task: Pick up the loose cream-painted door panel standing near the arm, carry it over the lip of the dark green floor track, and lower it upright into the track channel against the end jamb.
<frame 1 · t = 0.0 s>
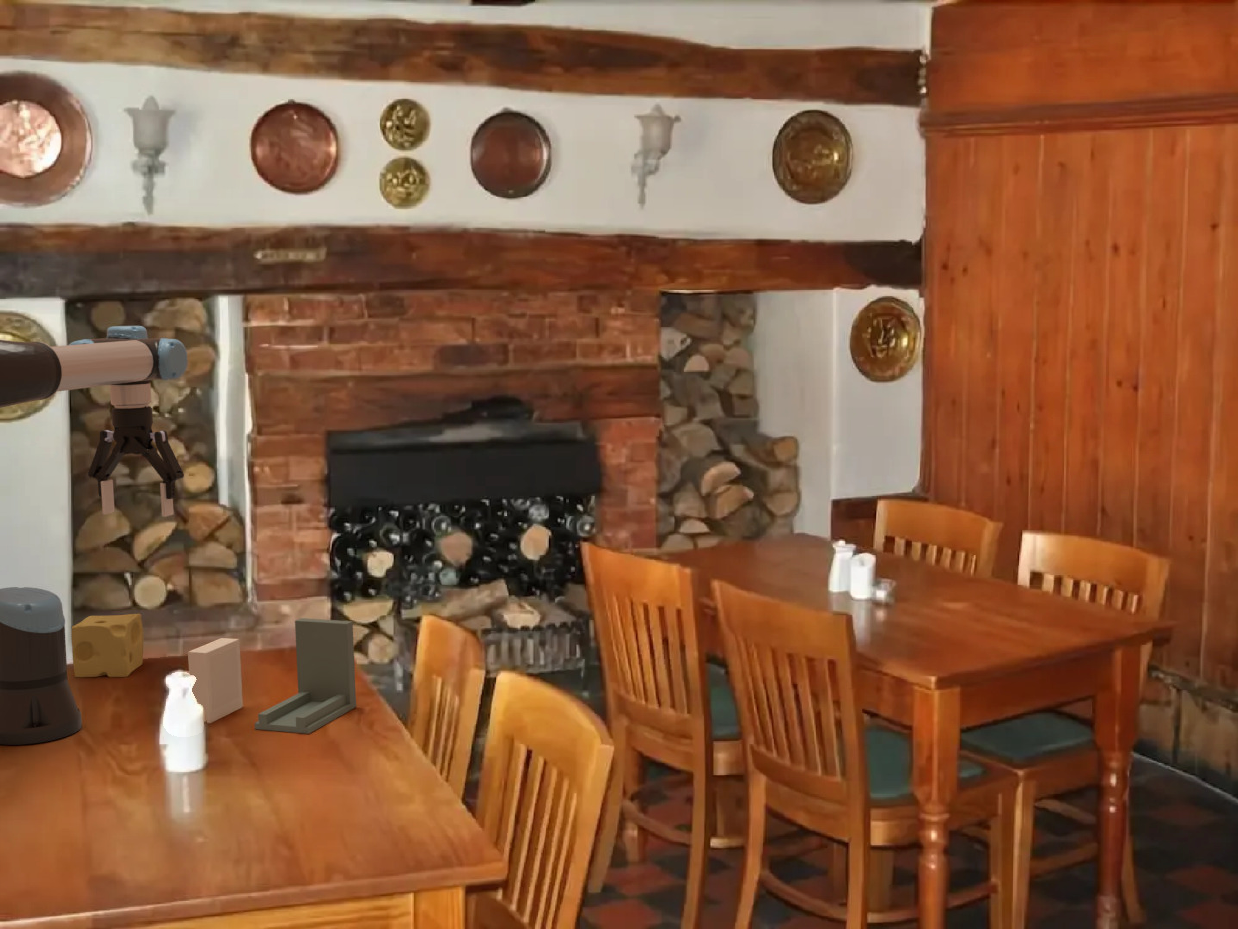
hand: (138, 514, 301), 28 cm above the table, fingers open, 13 cm apart
cheese: (108, 672, 293), on the table
door: (217, 714, 263), on the table
track: (306, 717, 259), on the table
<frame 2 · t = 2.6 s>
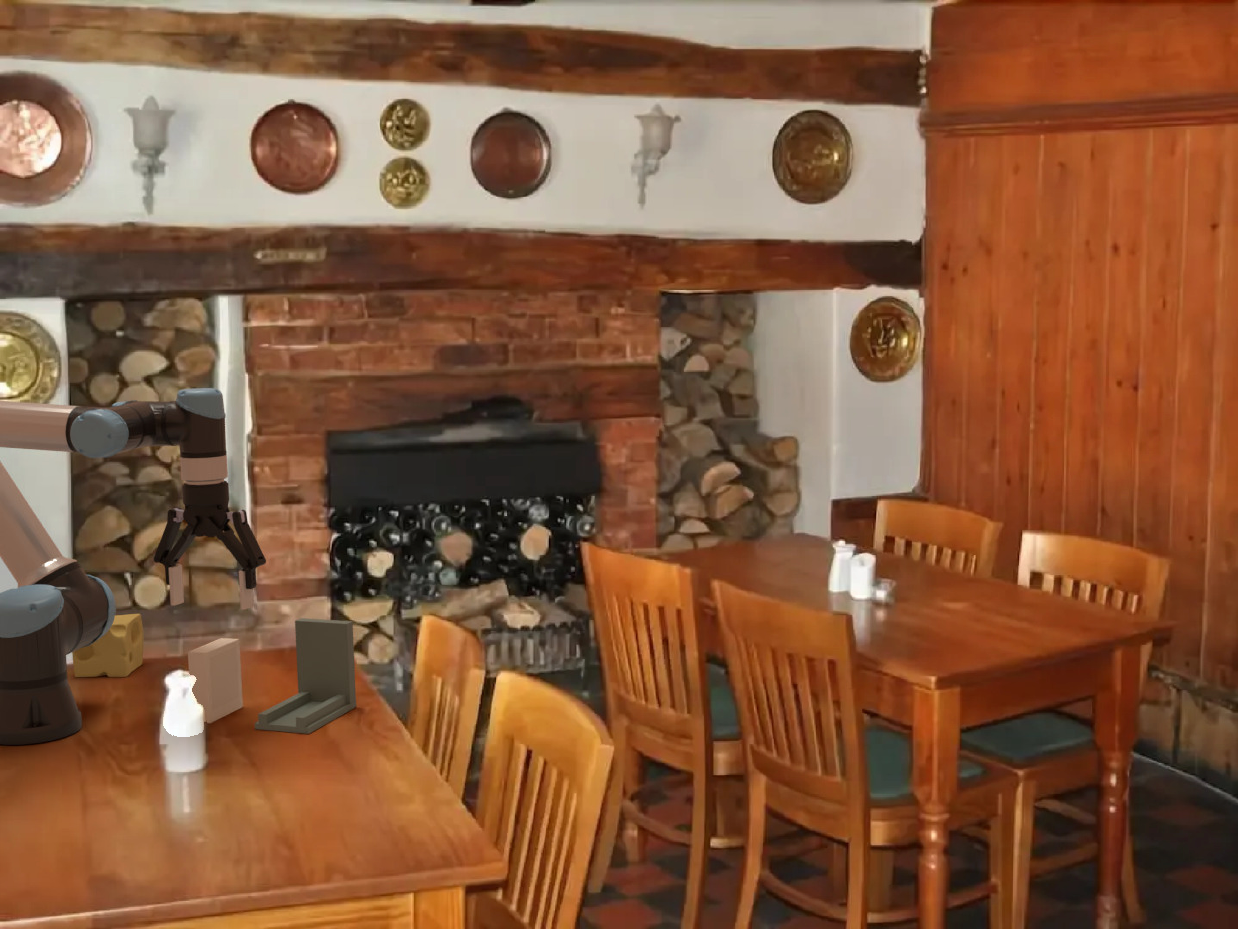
hand: (212, 606, 260), 19 cm above the table, fingers open, 13 cm apart
nothing on the table moved.
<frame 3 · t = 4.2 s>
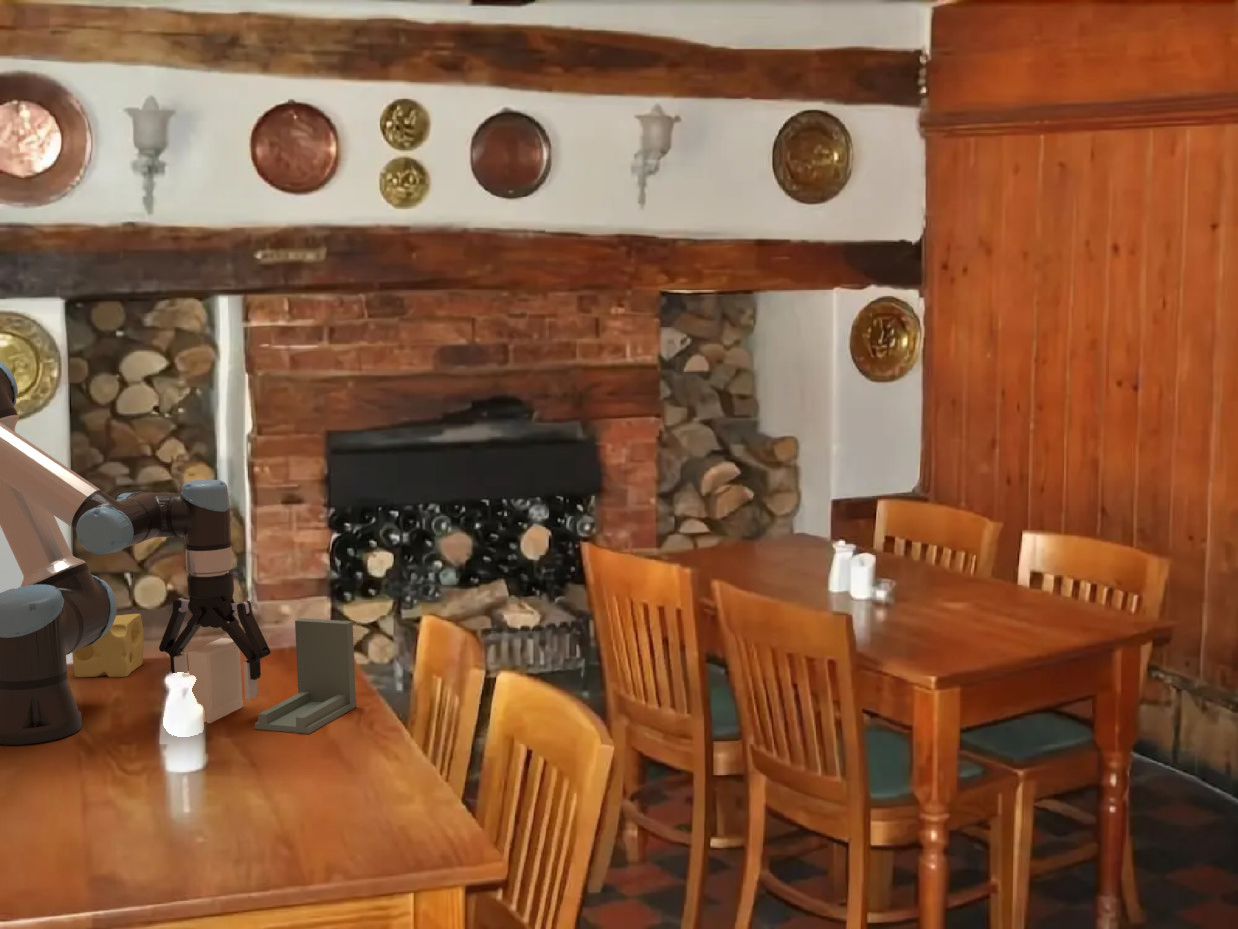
hand: (216, 695, 262), 3 cm above the table, fingers open, 13 cm apart
nothing on the table moved.
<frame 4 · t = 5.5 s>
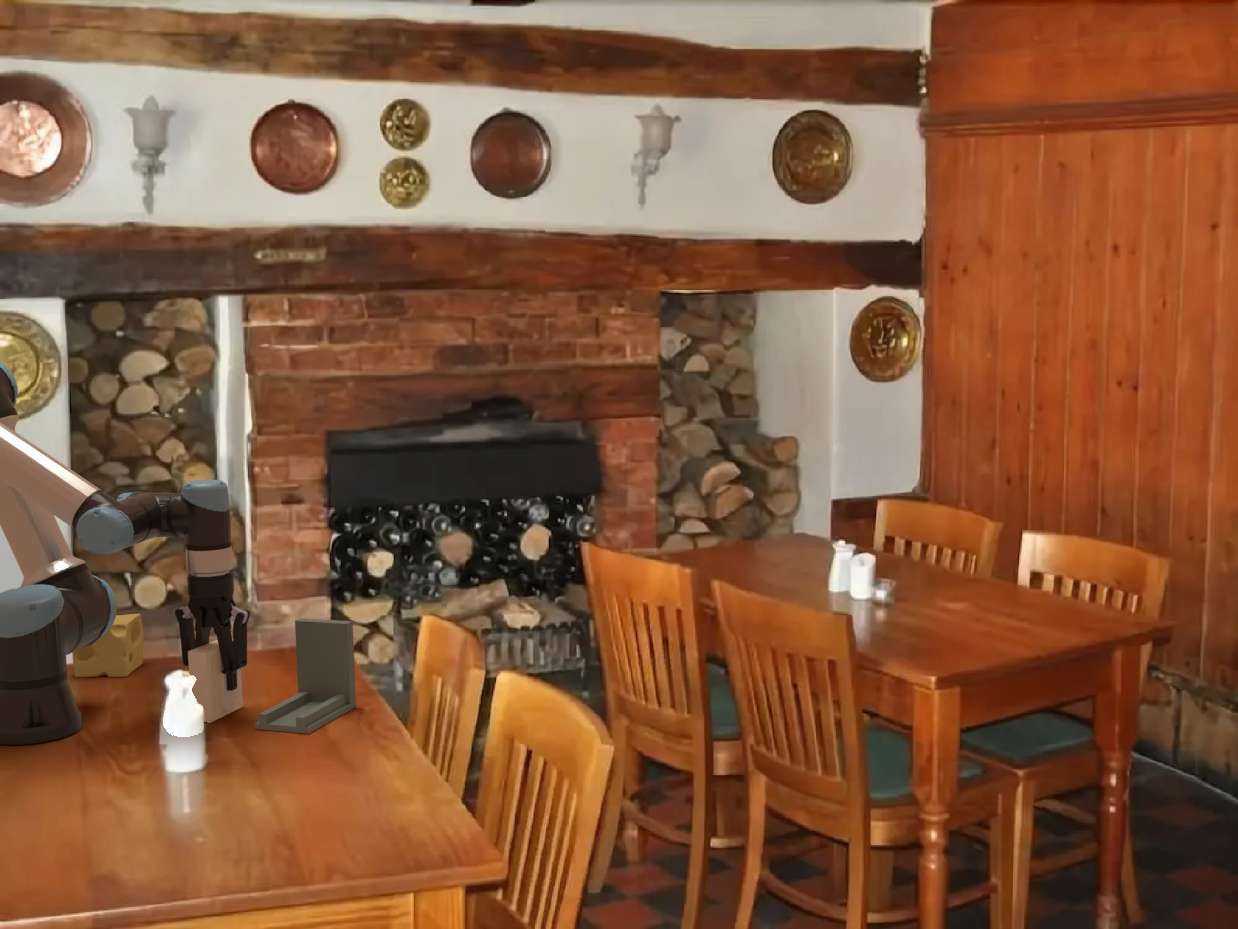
hand: (217, 707, 262), 1 cm above the table, fingers closed on door, 4 cm apart
door: (217, 714, 263), on the table, touching gripper
everything else where it was.
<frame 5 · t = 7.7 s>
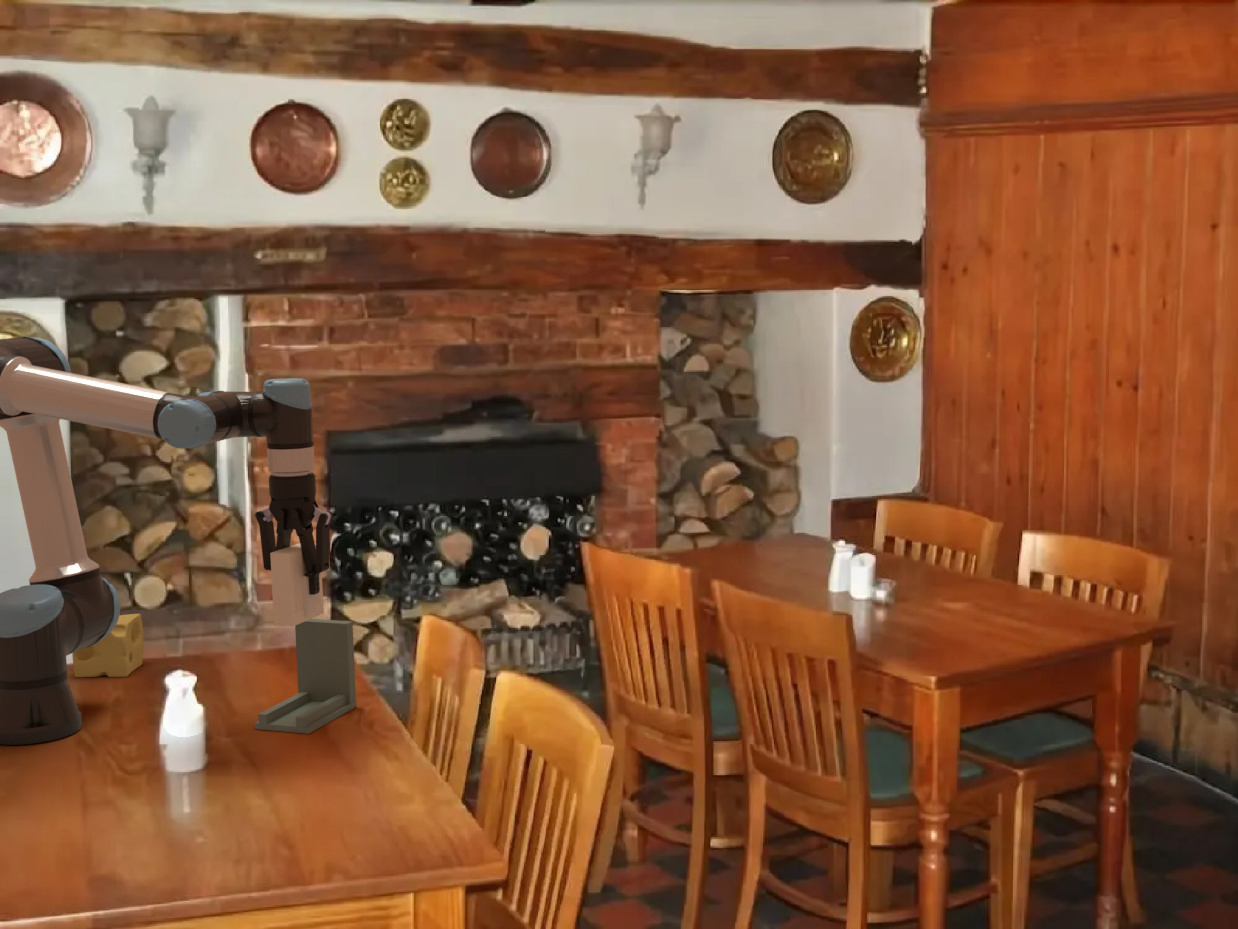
hand: (298, 612, 256), 18 cm above the table, fingers closed on door, 4 cm apart
door: (299, 619, 256), point 17 cm above the table, touching gripper
everything else where it was.
when the fingers open (4 cm above the table, at t = 9.9 s): door drops 1 cm, resting on track.
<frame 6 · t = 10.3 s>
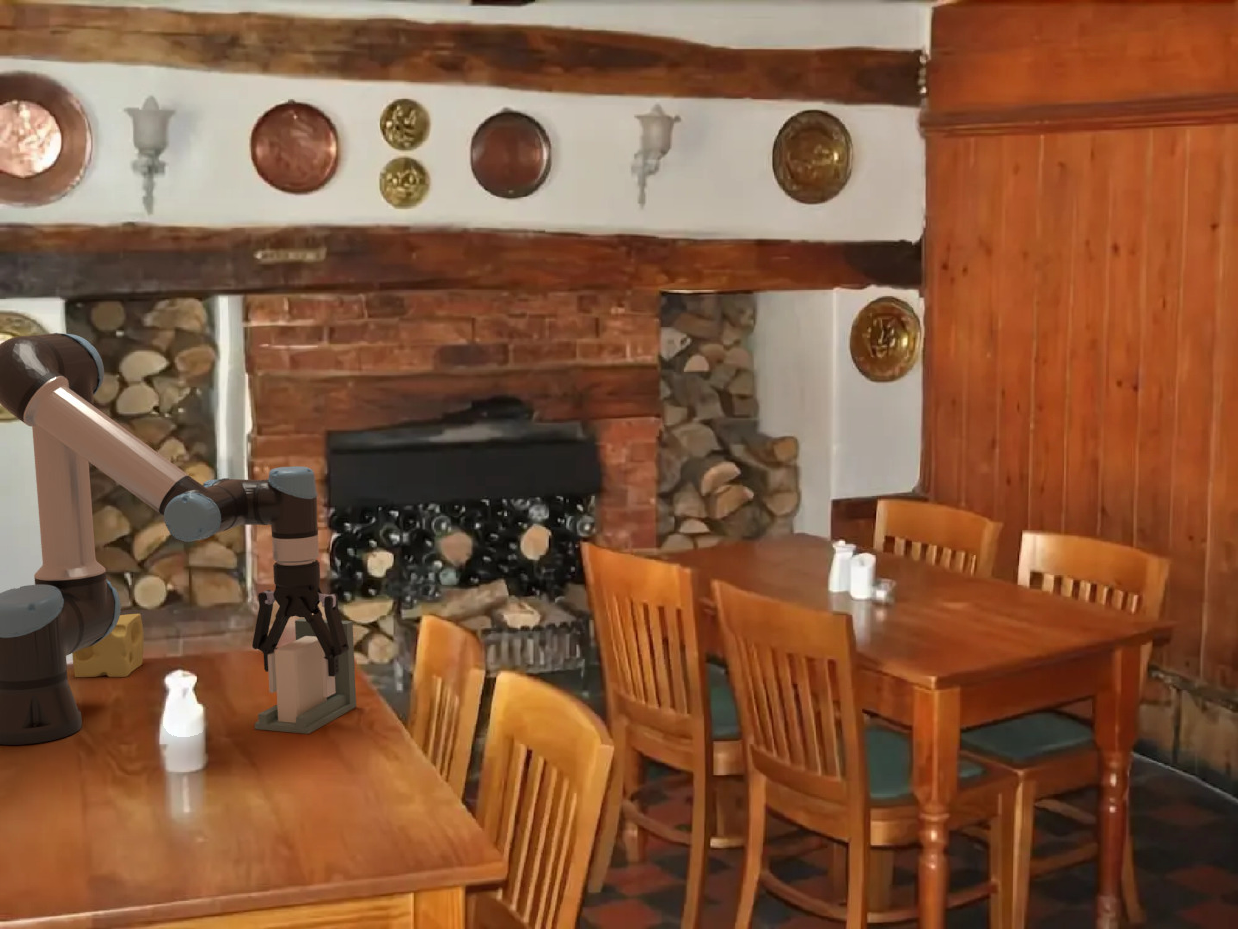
hand: (302, 692, 258), 5 cm above the table, fingers open, 9 cm apart
door: (303, 713, 258), point 1 cm above the table, touching track
everything else where it was.
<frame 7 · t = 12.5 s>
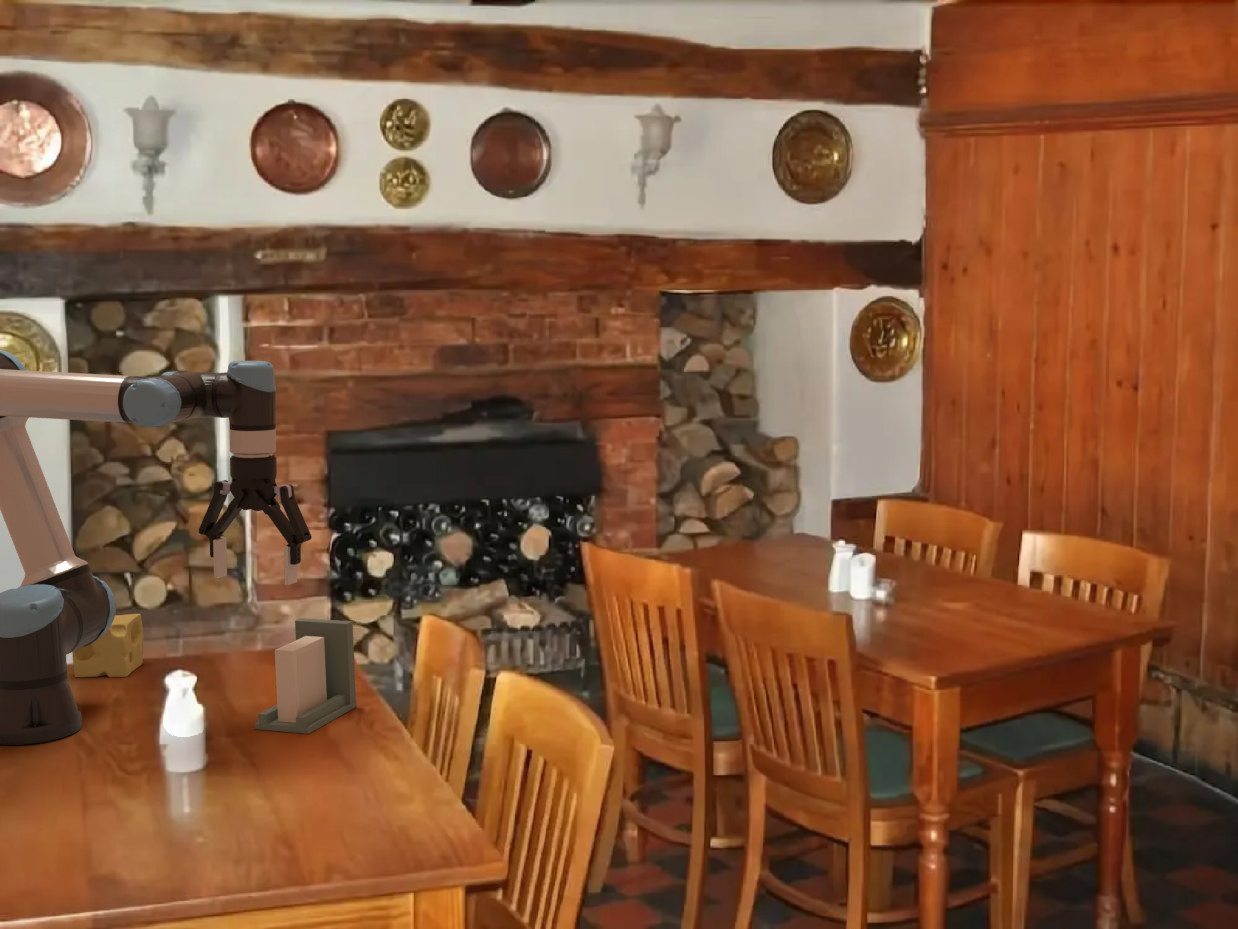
hand: (255, 580, 259), 23 cm above the table, fingers open, 13 cm apart
nothing on the table moved.
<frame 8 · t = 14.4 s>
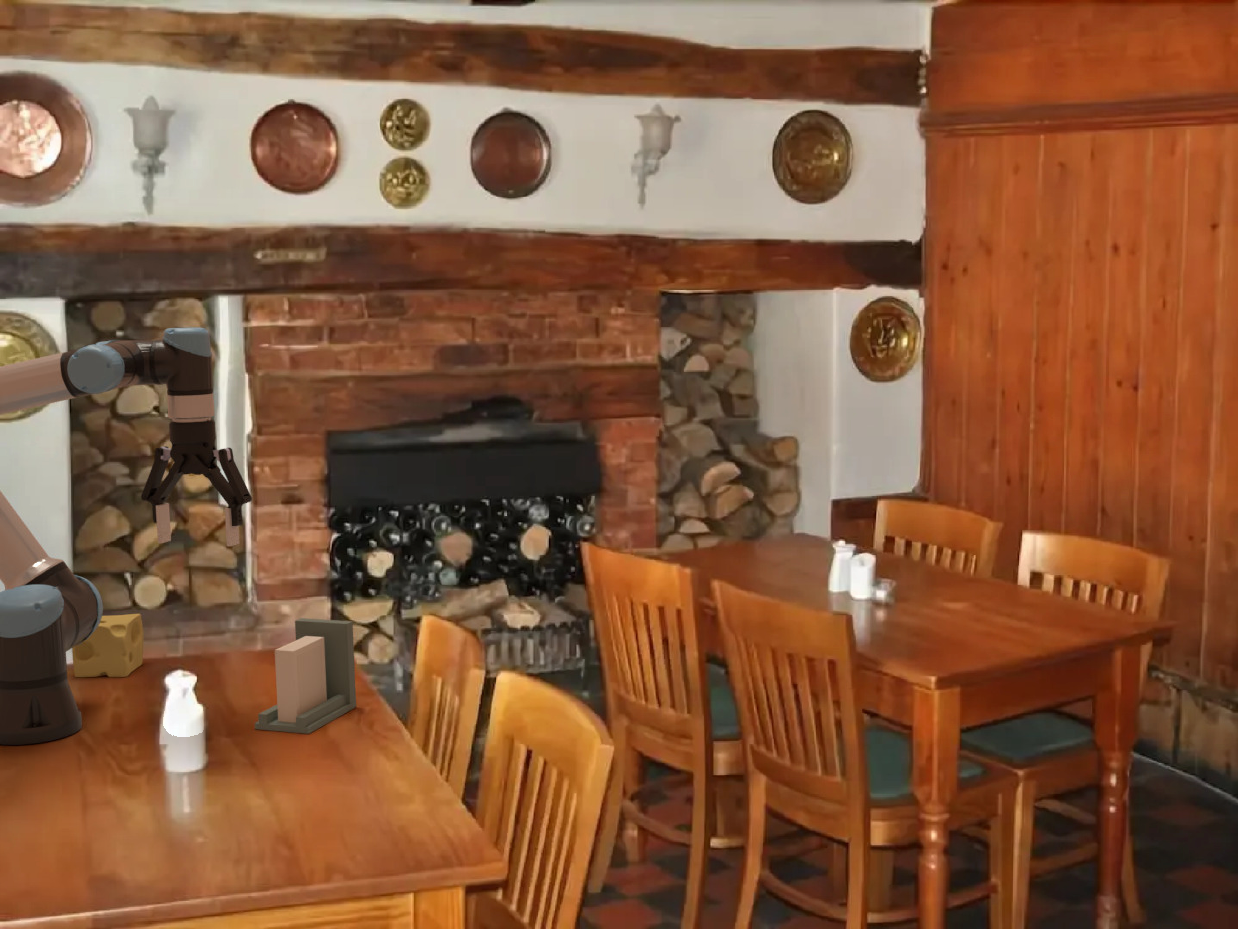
hand: (198, 543, 263), 29 cm above the table, fingers open, 13 cm apart
nothing on the table moved.
at the end: door 0.1 cm from the target spot on the track, point 1.0 cm above the track's base; door tilted 0°; the gripper is holding nothing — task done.
